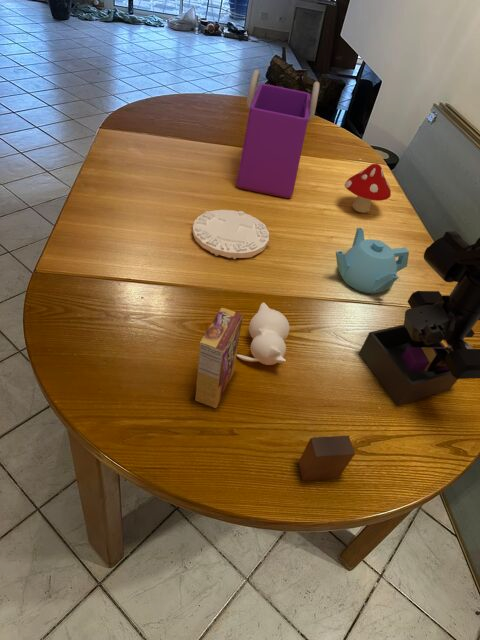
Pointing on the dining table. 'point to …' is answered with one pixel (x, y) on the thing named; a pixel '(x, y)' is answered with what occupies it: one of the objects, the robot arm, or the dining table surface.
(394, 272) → the teakettle
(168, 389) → the dining table surface
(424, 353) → the chocolate bar
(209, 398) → the candy box
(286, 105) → the shopping bag
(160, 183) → the dining table surface
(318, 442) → the block stand
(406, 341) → the waste bin
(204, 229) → the white round plaque
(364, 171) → the decorative mushroom
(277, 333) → the cat figurine
